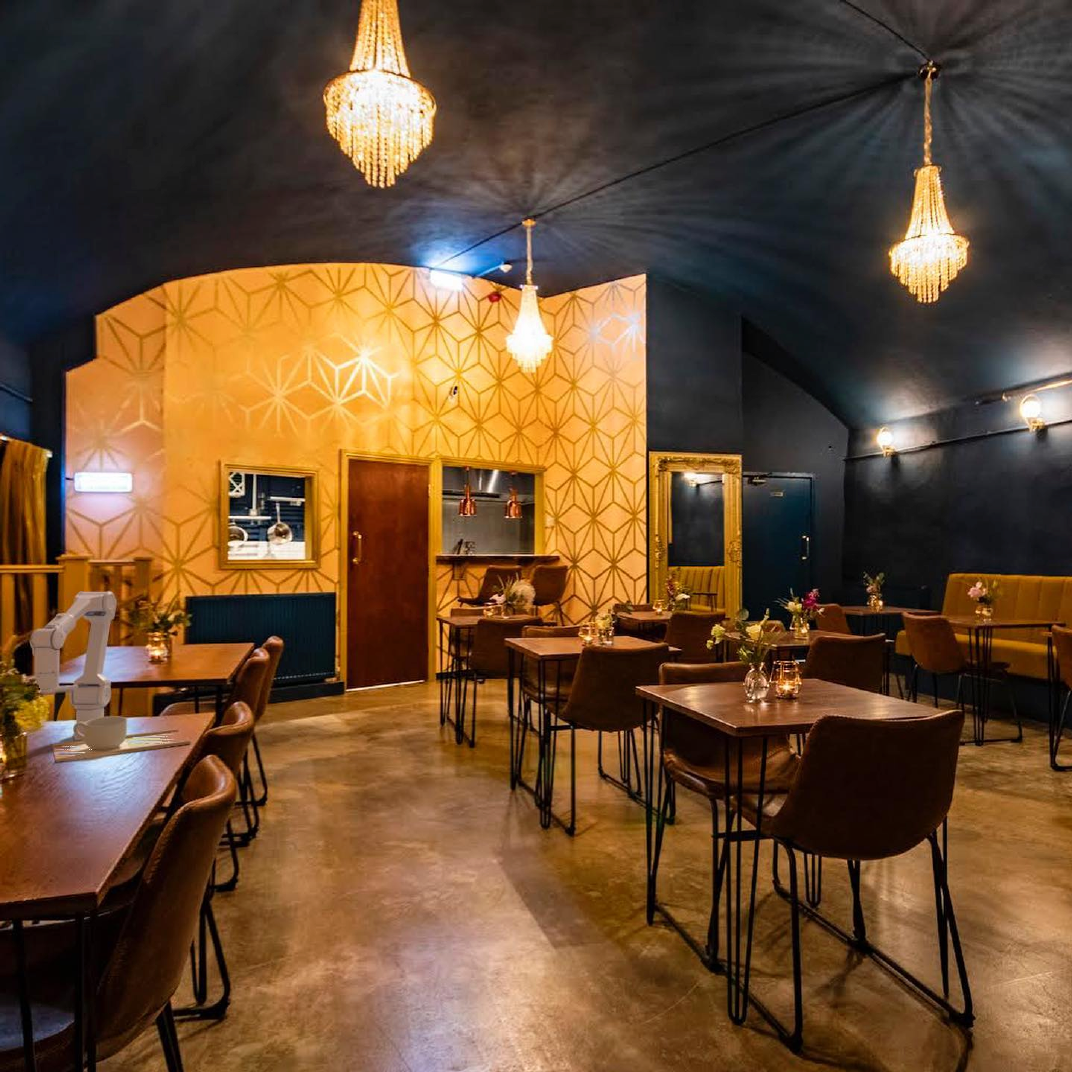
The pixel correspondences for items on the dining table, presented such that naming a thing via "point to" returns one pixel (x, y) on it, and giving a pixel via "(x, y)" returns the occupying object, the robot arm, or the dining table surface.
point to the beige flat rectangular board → (120, 749)
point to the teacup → (103, 732)
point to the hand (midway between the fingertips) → (46, 721)
